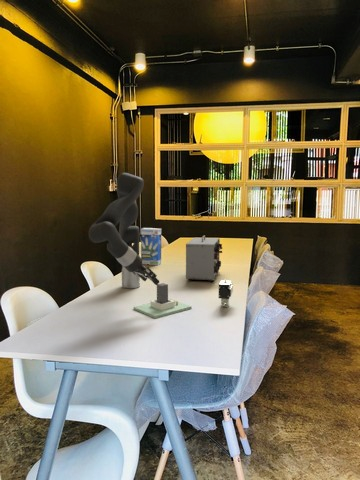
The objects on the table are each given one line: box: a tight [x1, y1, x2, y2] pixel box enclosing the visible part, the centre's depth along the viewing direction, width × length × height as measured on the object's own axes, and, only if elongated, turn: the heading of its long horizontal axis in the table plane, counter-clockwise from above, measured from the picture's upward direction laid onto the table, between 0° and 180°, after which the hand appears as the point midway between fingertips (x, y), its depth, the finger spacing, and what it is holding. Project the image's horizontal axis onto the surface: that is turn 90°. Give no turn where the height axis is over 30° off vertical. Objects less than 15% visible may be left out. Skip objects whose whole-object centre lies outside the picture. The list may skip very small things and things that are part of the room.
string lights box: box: [140, 227, 162, 266], centre depth 266 cm, size 13×8×26 cm, turn 73°
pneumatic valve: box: [218, 279, 234, 308], centre depth 166 cm, size 6×12×12 cm, turn 166°
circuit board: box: [133, 298, 193, 319], centre depth 163 cm, size 20×16×4 cm
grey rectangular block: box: [156, 282, 169, 304], centre depth 162 cm, size 4×4×10 cm
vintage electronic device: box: [185, 235, 223, 283], centre depth 225 cm, size 32×18×25 cm, turn 168°
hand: (151, 281), depth 159 cm, fingers open, 8 cm apart
